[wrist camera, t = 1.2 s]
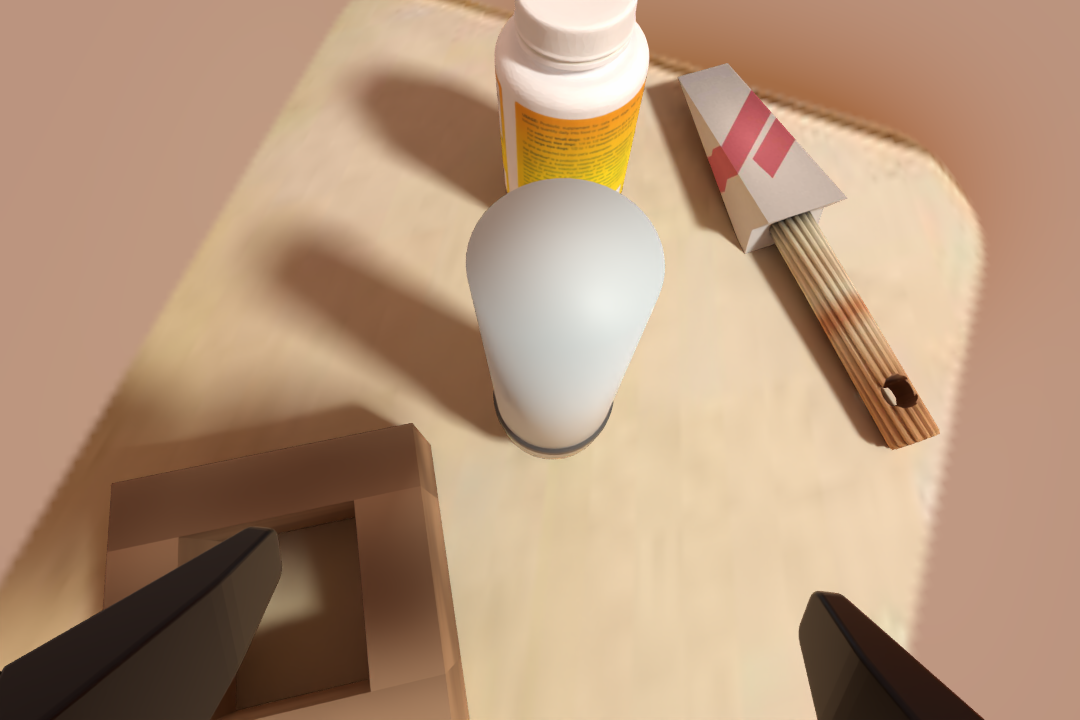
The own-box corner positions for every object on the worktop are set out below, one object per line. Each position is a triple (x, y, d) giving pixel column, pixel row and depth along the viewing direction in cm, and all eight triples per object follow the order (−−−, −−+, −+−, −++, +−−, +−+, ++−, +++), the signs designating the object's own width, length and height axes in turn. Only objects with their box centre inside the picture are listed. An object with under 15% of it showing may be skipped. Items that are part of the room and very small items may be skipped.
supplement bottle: (641, 213, 26) (700, 10, 17) (539, 260, 26) (541, 73, 16) (583, 133, 28) (607, -92, 19) (486, 174, 27) (458, -41, 18)
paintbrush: (748, 34, 27) (981, 420, 21) (729, 80, 29) (931, 434, 23) (675, 53, 26) (892, 452, 20) (662, 97, 29) (850, 463, 23)
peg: (613, 459, 22) (697, 332, 11) (510, 481, 22) (479, 375, 10) (588, 364, 24) (637, 160, 12) (491, 383, 23) (446, 192, 12)
